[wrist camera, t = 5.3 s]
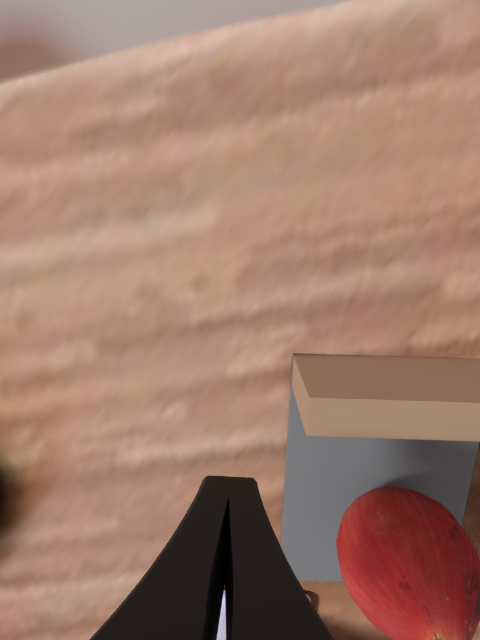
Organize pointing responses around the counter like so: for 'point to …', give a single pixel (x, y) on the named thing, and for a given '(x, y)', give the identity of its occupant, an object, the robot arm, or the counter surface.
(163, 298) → the counter surface
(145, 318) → the counter surface
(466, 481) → the l-shaped bracket
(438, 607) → the onion
